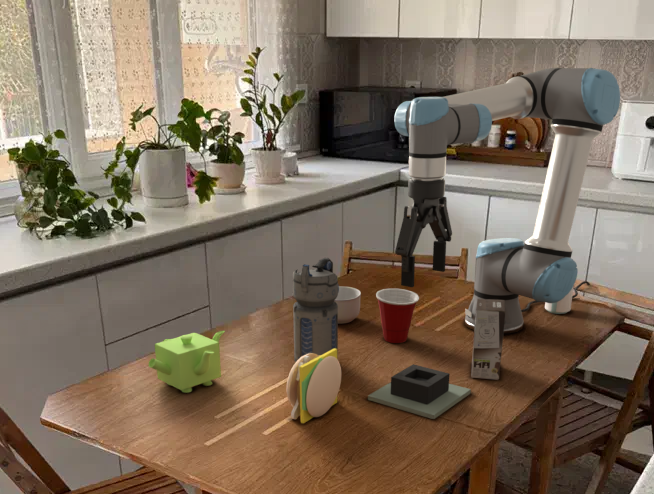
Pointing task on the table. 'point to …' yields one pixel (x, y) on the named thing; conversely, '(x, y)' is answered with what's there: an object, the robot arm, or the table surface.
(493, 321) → the coffee box
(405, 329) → the plastic cup
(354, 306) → the teacup
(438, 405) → the base pad
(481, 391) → the table surface
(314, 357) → the hamburger
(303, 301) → the beverage bottle
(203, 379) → the kettle
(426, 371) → the dark gray square ring
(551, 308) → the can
